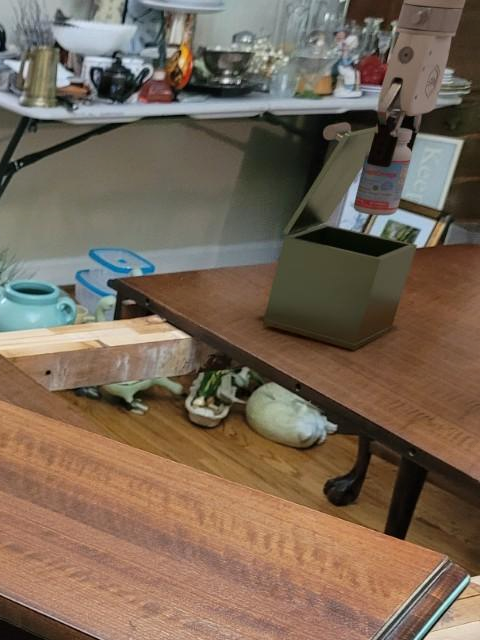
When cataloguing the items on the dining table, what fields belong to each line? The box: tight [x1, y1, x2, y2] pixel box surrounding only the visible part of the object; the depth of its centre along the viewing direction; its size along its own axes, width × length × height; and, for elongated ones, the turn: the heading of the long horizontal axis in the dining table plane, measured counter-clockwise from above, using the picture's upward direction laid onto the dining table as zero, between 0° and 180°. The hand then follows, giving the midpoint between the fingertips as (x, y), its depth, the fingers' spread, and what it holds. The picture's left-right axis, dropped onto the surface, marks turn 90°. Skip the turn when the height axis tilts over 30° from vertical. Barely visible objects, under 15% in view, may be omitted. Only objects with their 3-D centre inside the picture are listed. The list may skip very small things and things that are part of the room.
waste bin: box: [262, 223, 418, 351], centre depth 168 cm, size 15×14×13 cm
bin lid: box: [282, 121, 376, 236], centre depth 164 cm, size 16×14×5 cm
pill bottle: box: [353, 128, 413, 216], centre depth 158 cm, size 6×6×11 cm
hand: (388, 161), depth 157 cm, fingers closed on pill bottle, 6 cm apart
